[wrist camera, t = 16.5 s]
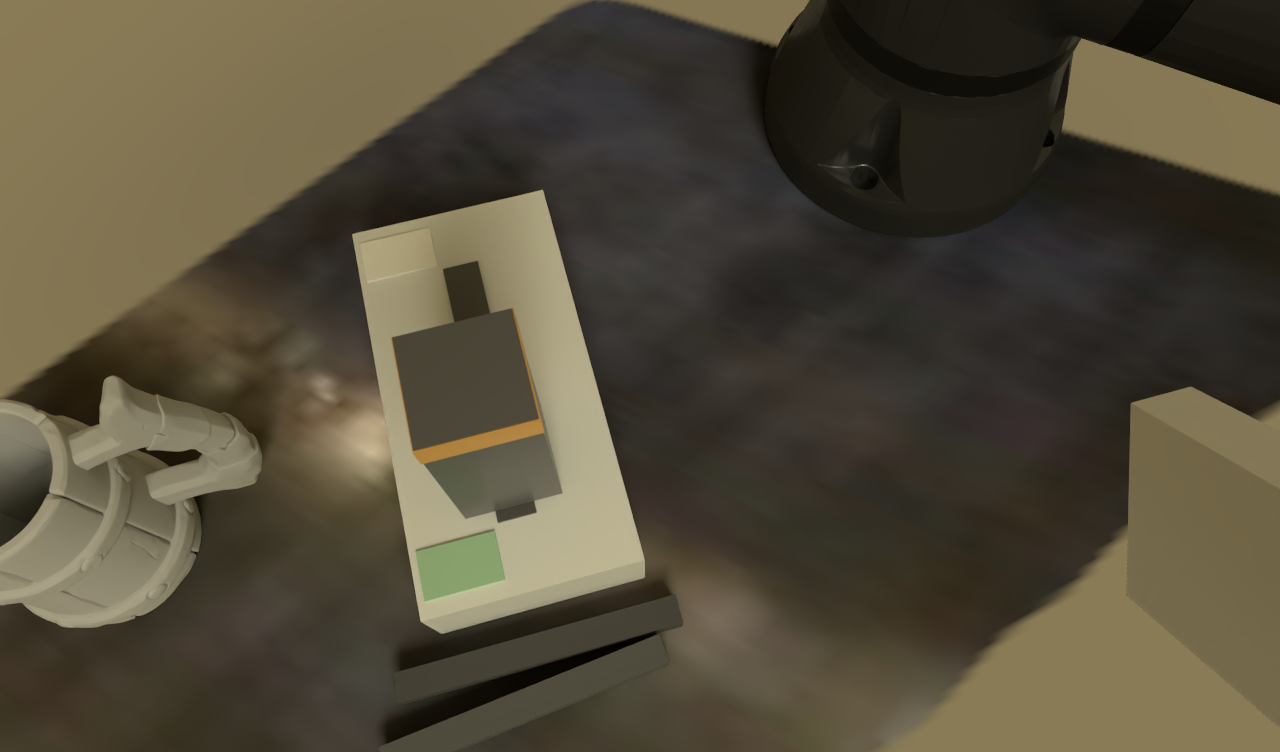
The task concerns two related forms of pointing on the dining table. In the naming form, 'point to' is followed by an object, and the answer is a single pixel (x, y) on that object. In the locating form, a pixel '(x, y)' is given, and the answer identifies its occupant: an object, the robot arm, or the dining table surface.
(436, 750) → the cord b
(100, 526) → the mug
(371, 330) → the switch box
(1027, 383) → the dining table surface
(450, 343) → the lever
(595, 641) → the dark grey rail bar
